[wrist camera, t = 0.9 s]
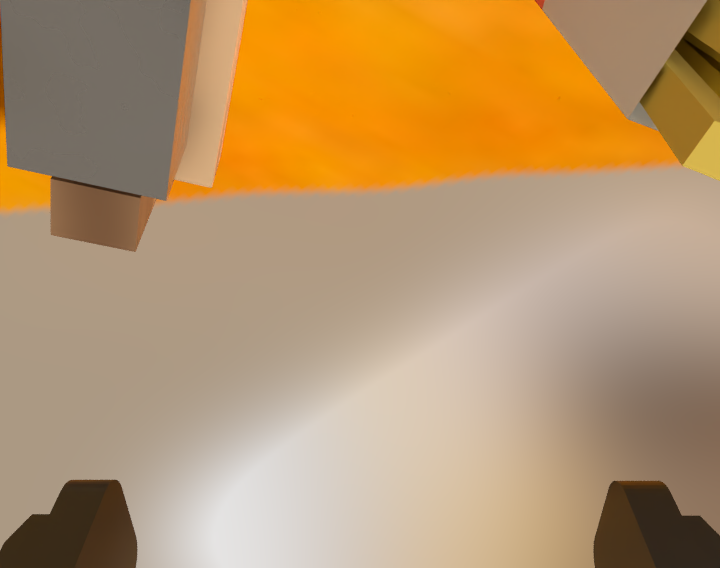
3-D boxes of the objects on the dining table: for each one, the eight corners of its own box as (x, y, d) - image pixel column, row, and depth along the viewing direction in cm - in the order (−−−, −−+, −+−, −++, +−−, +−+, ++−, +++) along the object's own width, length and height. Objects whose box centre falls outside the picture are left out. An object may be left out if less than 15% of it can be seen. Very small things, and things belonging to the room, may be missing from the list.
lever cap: (49, 112, 25) (7, 166, 22) (48, -96, 20) (-3, -67, 17) (186, 145, 26) (166, 200, 22) (213, -48, 21) (192, -12, 18)
